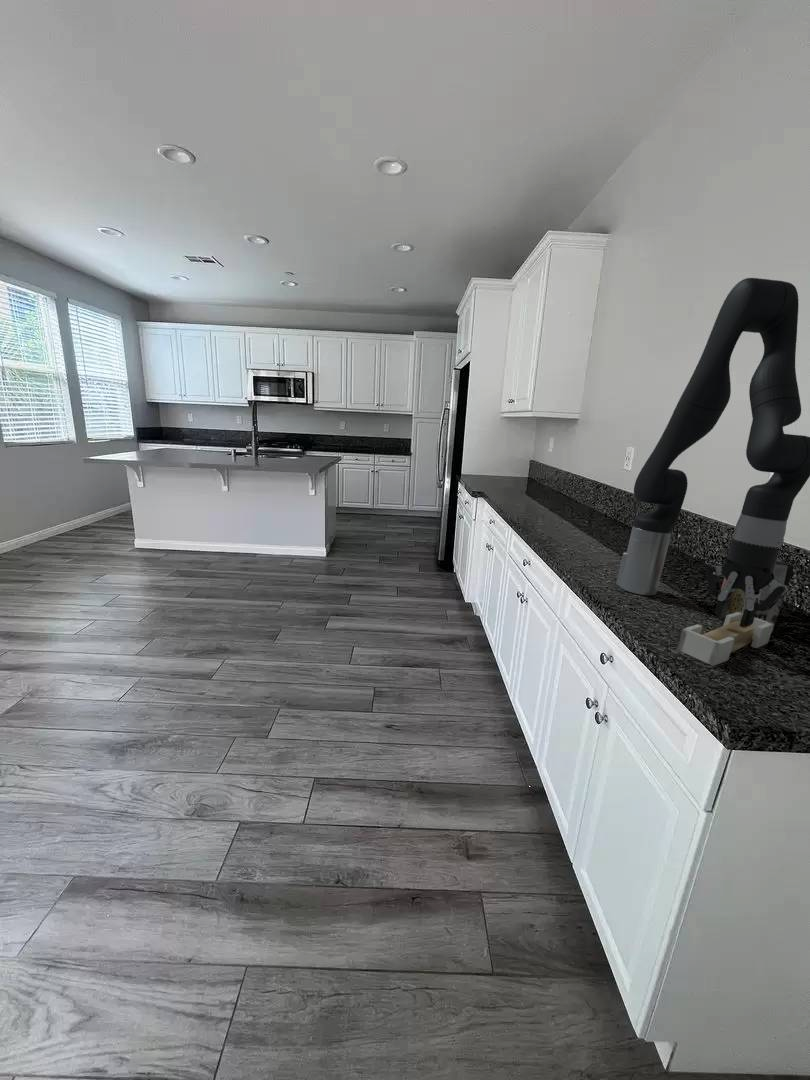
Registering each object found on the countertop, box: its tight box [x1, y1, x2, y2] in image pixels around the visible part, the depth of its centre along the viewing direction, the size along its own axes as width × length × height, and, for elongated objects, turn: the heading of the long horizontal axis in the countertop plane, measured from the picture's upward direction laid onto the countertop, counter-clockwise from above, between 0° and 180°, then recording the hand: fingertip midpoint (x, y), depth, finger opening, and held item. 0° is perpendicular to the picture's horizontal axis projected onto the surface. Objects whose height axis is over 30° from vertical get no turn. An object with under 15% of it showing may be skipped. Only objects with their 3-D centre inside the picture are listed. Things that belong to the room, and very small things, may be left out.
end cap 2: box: [722, 612, 775, 649], centre depth 94 cm, size 7×6×4 cm
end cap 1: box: [676, 623, 735, 667], centre depth 84 cm, size 7×6×4 cm
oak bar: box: [702, 621, 755, 654], centre depth 89 cm, size 3×18×4 cm, turn 124°
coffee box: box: [726, 558, 795, 634], centre depth 102 cm, size 9×6×16 cm
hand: (732, 621), depth 88 cm, fingers open, 3 cm apart
